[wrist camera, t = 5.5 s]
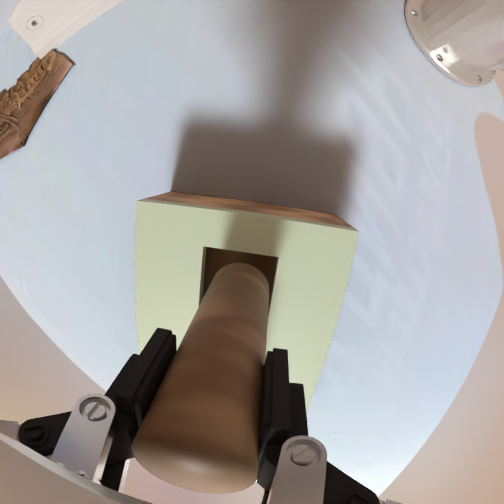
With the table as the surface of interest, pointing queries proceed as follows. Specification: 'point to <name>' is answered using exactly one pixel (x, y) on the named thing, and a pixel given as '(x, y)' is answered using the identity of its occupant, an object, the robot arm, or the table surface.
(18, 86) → the wooden fragment
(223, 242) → the lid
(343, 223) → the box with square hole
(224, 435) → the pin
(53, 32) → the white curved device casing
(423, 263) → the table surface
